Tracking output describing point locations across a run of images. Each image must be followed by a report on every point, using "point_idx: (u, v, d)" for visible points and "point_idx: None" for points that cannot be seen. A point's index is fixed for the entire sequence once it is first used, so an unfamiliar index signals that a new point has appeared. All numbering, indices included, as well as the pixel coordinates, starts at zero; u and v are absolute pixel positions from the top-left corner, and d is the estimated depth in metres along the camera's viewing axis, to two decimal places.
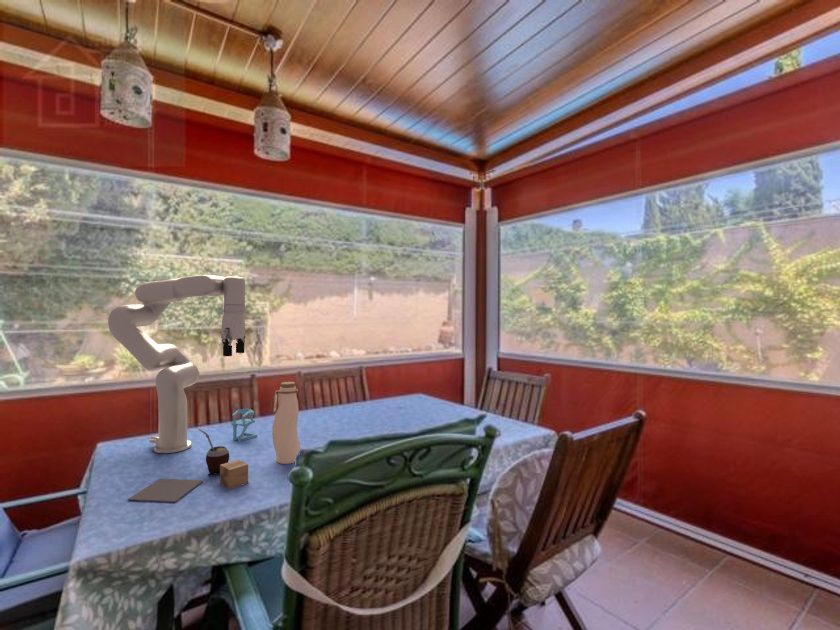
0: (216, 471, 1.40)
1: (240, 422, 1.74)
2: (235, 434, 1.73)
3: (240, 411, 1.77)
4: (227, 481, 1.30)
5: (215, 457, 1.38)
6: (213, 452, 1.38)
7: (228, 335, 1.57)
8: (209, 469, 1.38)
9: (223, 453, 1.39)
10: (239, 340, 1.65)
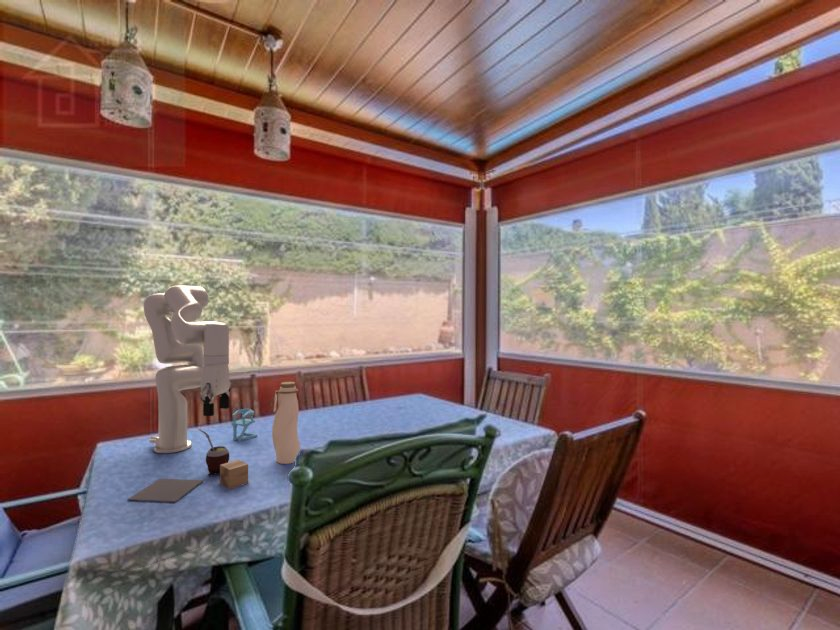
0: (216, 471, 1.40)
1: (240, 422, 1.74)
2: (235, 434, 1.73)
3: (240, 411, 1.77)
4: (227, 481, 1.30)
5: (215, 457, 1.38)
6: (213, 452, 1.38)
7: (209, 391, 1.36)
8: (209, 469, 1.38)
9: (223, 453, 1.39)
10: (223, 394, 1.45)
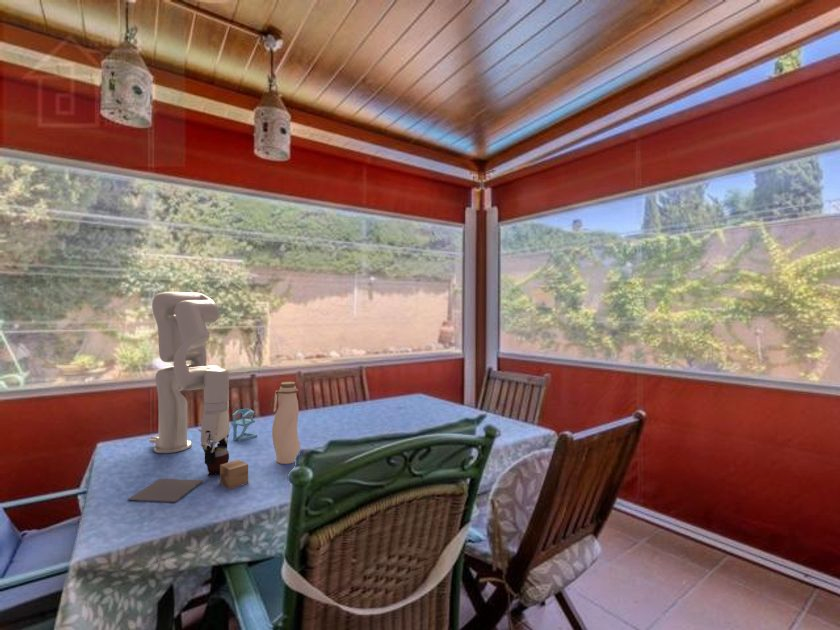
0: (216, 471, 1.39)
1: (240, 422, 1.74)
2: (235, 434, 1.73)
3: (240, 411, 1.77)
4: (227, 481, 1.30)
5: (215, 457, 1.37)
6: None
7: None
8: (209, 469, 1.38)
9: (223, 453, 1.39)
10: (221, 440, 1.44)
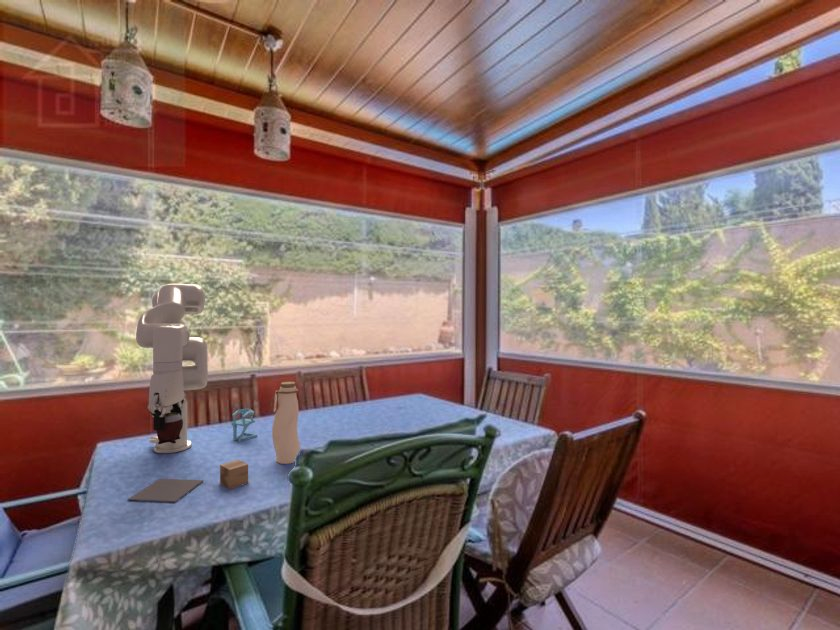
0: (167, 439, 1.25)
1: (240, 422, 1.74)
2: (235, 434, 1.73)
3: (240, 411, 1.77)
4: (227, 481, 1.30)
5: (165, 423, 1.23)
6: None
7: (159, 401, 1.23)
8: (159, 437, 1.24)
9: (175, 419, 1.25)
10: (175, 406, 1.30)
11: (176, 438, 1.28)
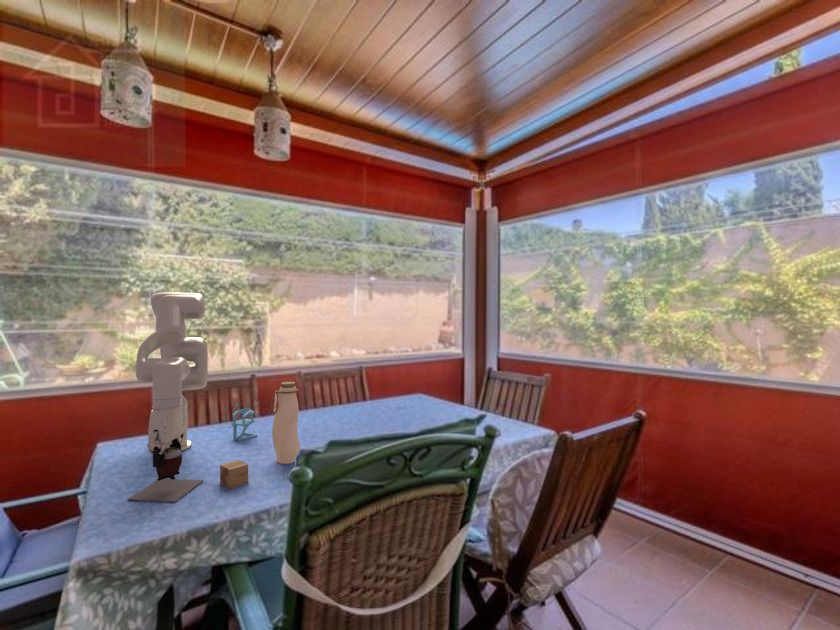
0: (167, 475, 1.25)
1: (240, 422, 1.74)
2: (235, 434, 1.73)
3: (240, 411, 1.77)
4: (227, 481, 1.30)
5: (165, 460, 1.23)
6: None
7: (158, 438, 1.23)
8: (158, 473, 1.24)
9: (174, 455, 1.25)
10: (174, 441, 1.31)
11: (175, 473, 1.28)
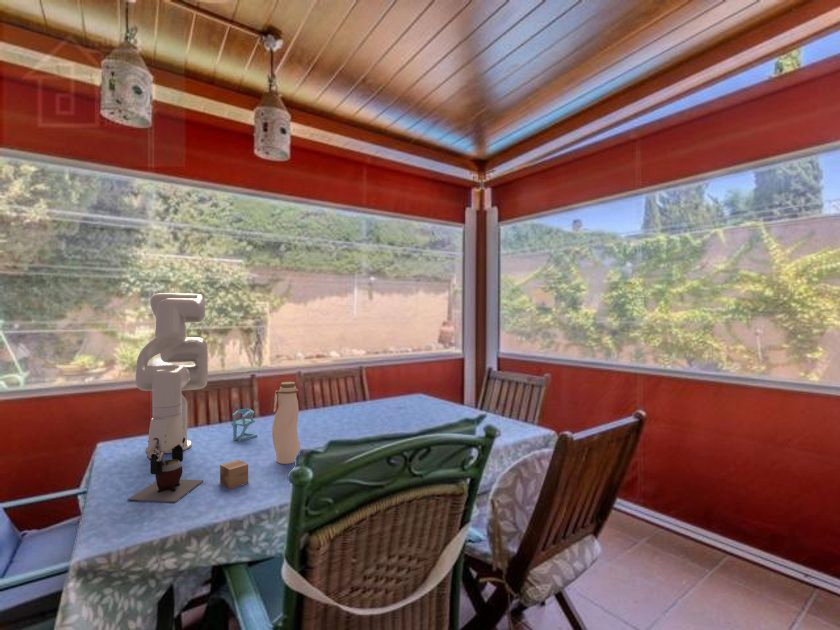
0: (167, 487, 1.26)
1: (240, 422, 1.74)
2: (235, 434, 1.73)
3: (240, 411, 1.77)
4: (227, 481, 1.30)
5: (165, 472, 1.24)
6: (163, 466, 1.24)
7: (158, 446, 1.23)
8: (158, 485, 1.25)
9: (174, 467, 1.25)
10: (176, 445, 1.32)
11: (176, 485, 1.29)
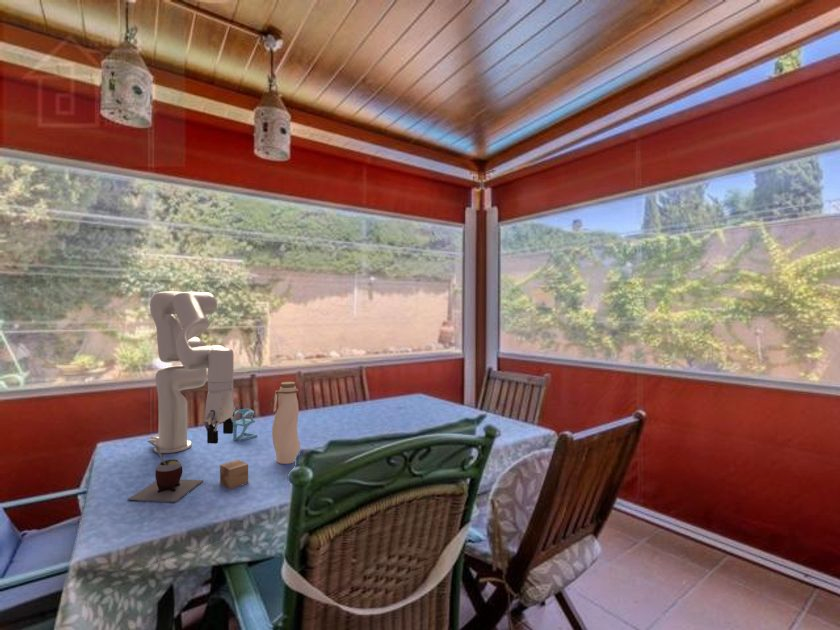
0: (167, 487, 1.26)
1: (240, 422, 1.74)
2: (235, 434, 1.73)
3: (240, 411, 1.77)
4: (227, 481, 1.30)
5: (165, 472, 1.24)
6: (163, 466, 1.24)
7: (213, 418, 1.35)
8: (158, 485, 1.25)
9: (174, 467, 1.25)
10: (227, 419, 1.43)
11: (176, 485, 1.29)
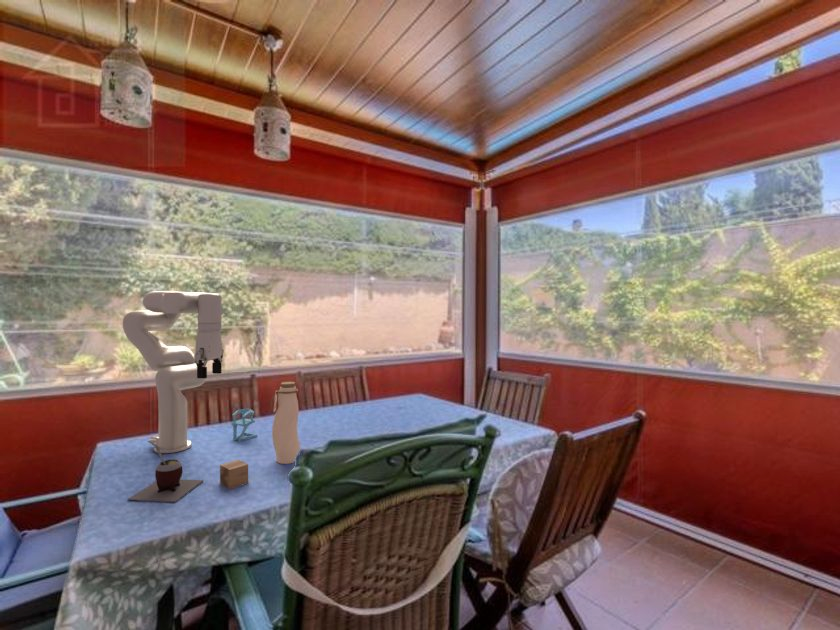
0: (167, 487, 1.26)
1: (240, 422, 1.74)
2: (235, 434, 1.73)
3: (240, 411, 1.77)
4: (227, 481, 1.30)
5: (165, 472, 1.24)
6: (163, 466, 1.24)
7: (203, 356, 1.47)
8: (158, 485, 1.25)
9: (174, 467, 1.25)
10: (216, 360, 1.56)
11: (176, 485, 1.29)
